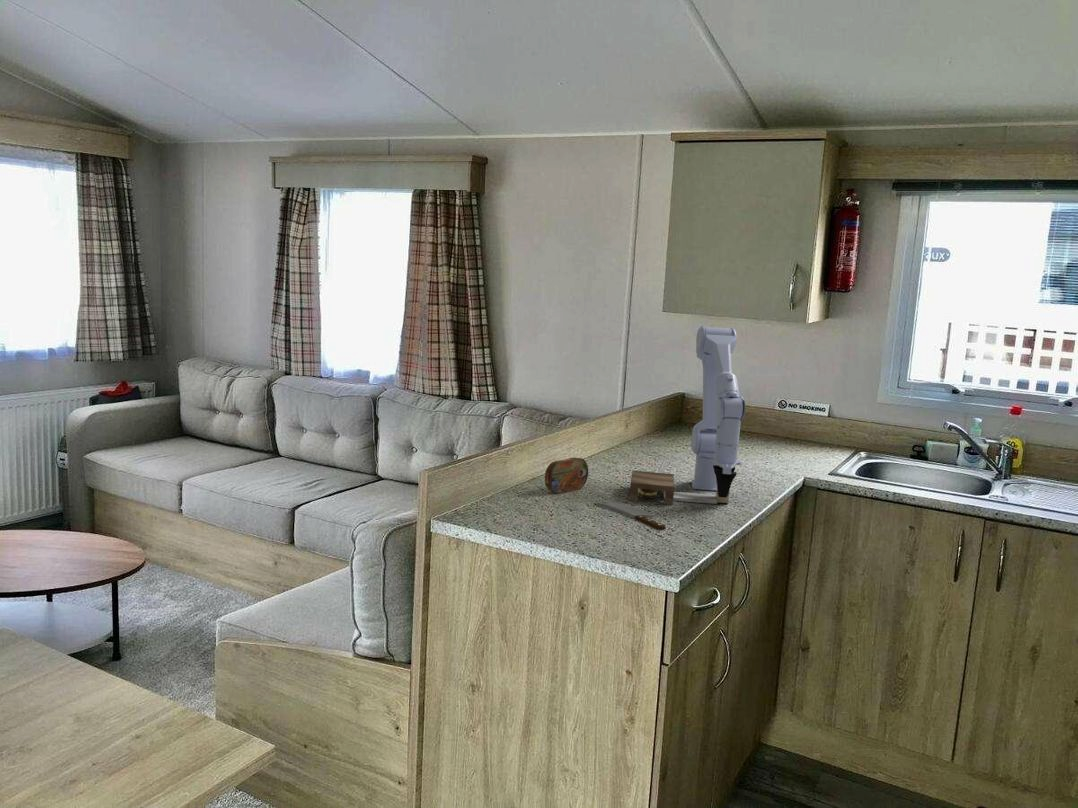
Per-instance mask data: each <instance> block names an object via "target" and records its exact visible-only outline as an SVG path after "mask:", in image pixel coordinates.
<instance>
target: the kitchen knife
mask: <svg viewBox="0 0 1078 808" xmlns="http://www.w3.org/2000/svg"><path fill="white" fill-rule="evenodd" d="M596 506H597V507H601V508H605V509H608V510H612V511H614V512H617V513H619V514H623V515H625V516H627V517H630V518H632V519H634V520H635V521H638V522H640V523H642V524H644V525H647V526H649V527H651V528H653V529H655V530H658V531H665V530H666V525H665V524H663V523H660V522H657V521H656V520H653V519H650V518H651V517H657V514H653V513H651V512H649V511H646V510H644V509H641V508H638V507H636V506H633V505H630V504H627V503H624V502H621V501H619V500H596Z"/></svg>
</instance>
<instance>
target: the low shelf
mask: <svg viewBox="0 0 1078 808" xmlns="http://www.w3.org/2000/svg"><path fill="white" fill-rule="evenodd" d="M629 487H630V488H629V499H628V500H629V502H638V497H639V496H638V488H643V489H654V490H658V491H663V492H664V491H666V493H665V500H664V505H671V506H672V505H673V504H674V501H673V496H674V492H675V474H674V473H663V472H655V471H654V472H652V471H641V470H632V471H631V477H630V485H629Z"/></svg>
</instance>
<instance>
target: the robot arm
mask: <svg viewBox="0 0 1078 808" xmlns="http://www.w3.org/2000/svg"><path fill="white" fill-rule="evenodd" d="M696 332H697V333H696V338H695V339H696V340H695V342H696V343H695V351H696V357H697V358H698V359H699V360H701V362H702V420H700V421H698V423H696V424H695V425H694V426H693V428H692V429H691V430H692V431H691V432H692V434H691V439H690V447H691V451H692V453H693V454H695V466H694V467H695V468H694V474H693V475H694V477H693V479H691V488H692V489H693V490H703V491H713V492H714V491H715V492H716V491H717V485H718V496H719V497H725V498H727V496H728V493H729V494H730V489H731V486H732V483H733V482H734V479H735V478H736V477H737V475H738V472H737V471H735V470H736V466H741V465H742V461H741V460H738V452H739V444H740V443H739V442H740V433H741V424H742V423H741V421H743V420H744V418H745V416H746V415H745V414H746V400H745V398H744V397H743V395H742V394H740V390H739V389H740V388H739V383H738V382H739V381H738V377H737V375H735V374H734V373H733V371H732V356H731V355H732V353H734V350H735V349H736V346H737V339H738V338H737V331H736V329H735V328H733V327H729V328H728V327H712V326H710V327H709V326H703V325H701V326H700V327H699V328H698V330H697V331H696Z"/></svg>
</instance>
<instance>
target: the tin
mask: <svg viewBox="0 0 1078 808" xmlns="http://www.w3.org/2000/svg"><path fill="white" fill-rule="evenodd" d="M588 477H589V467H588V463H587V462H586V460H585V459H584V458H582V457H569V458H565V459H559V460H555V461H552V462H551V463H549V465H548V466H547V468H546V470H545V472H544V483H545V487H546V489H547V490H548V491H550V492H551V493H555V494H559V495H560V493H561V494H565V493H568V492H573V491H578V490H581V489H582V488H583V487H584V486H585V484H586V482H587V479H588Z"/></svg>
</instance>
